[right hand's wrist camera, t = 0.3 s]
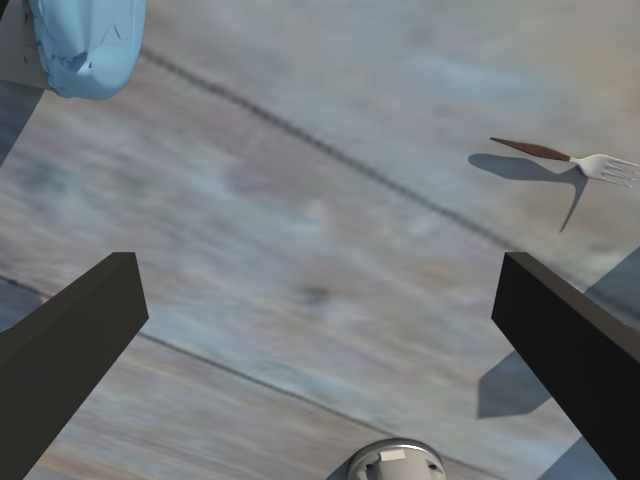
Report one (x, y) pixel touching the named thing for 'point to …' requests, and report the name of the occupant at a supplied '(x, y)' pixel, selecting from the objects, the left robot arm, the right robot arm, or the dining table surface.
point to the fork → (575, 160)
